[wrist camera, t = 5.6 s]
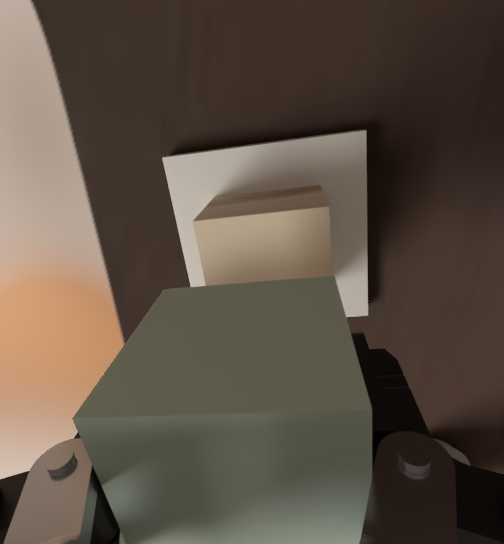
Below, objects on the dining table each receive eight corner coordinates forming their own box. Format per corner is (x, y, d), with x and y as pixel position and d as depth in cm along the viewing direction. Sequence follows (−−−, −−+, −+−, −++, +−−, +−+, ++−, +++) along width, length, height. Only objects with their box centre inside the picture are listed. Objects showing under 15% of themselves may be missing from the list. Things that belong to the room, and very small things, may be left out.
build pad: (168, 155, 21) (162, 157, 20) (362, 129, 20) (366, 130, 19) (203, 317, 25) (199, 326, 24) (364, 306, 24) (368, 315, 23)
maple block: (213, 197, 21) (192, 221, 16) (319, 185, 20) (329, 206, 15) (230, 290, 23) (215, 334, 18) (325, 283, 22) (335, 327, 18)
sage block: (163, 289, 11) (72, 419, 6) (334, 275, 10) (372, 409, 6) (196, 415, 13) (144, 585, 8) (340, 411, 12) (372, 593, 7)
